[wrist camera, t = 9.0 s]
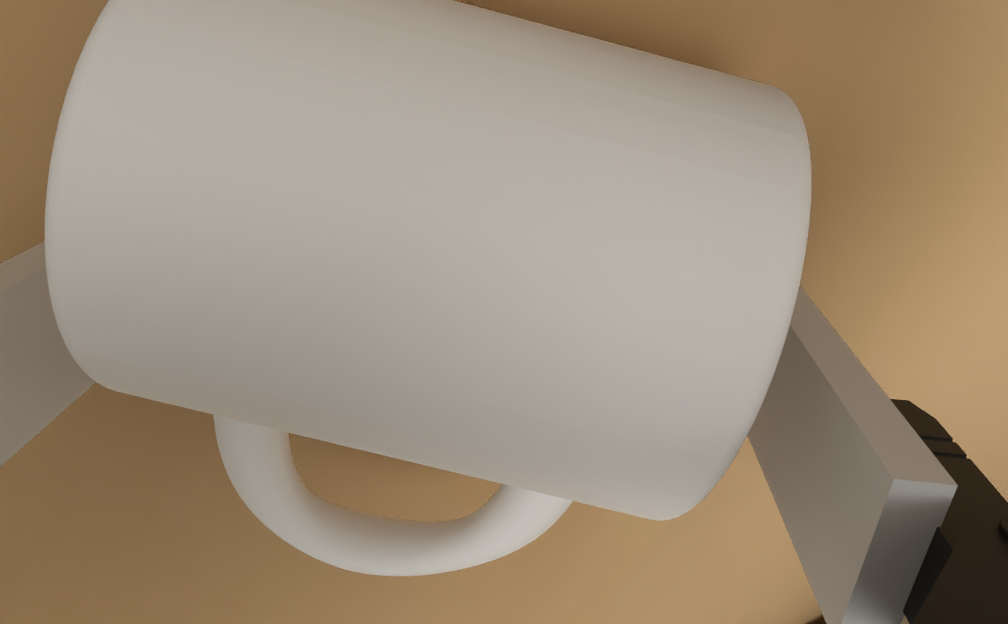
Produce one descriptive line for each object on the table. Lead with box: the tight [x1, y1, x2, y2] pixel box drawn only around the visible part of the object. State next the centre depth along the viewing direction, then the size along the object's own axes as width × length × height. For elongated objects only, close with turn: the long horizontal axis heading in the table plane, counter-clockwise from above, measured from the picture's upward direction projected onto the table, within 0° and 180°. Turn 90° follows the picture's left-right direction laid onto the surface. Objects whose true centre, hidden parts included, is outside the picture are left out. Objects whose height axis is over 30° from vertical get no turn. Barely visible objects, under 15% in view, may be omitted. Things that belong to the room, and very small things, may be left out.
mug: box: [45, 0, 812, 576], centre depth 14 cm, size 12×10×8 cm
